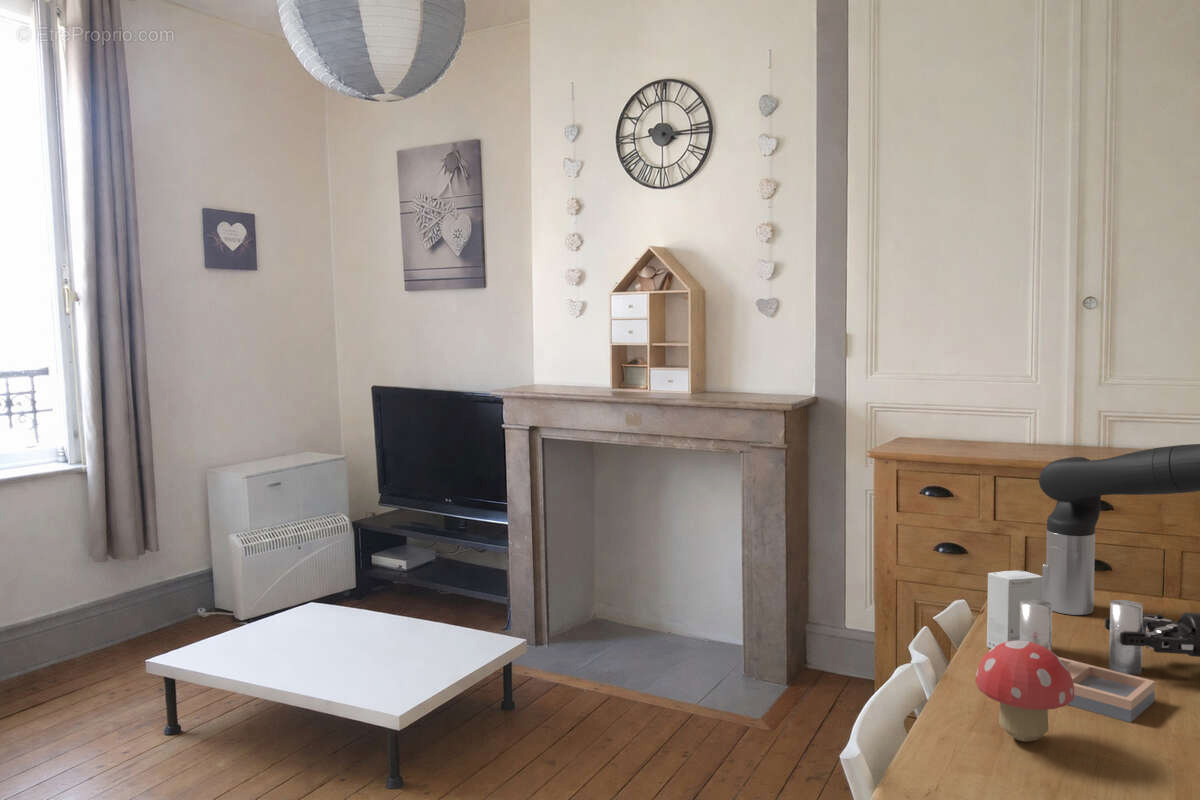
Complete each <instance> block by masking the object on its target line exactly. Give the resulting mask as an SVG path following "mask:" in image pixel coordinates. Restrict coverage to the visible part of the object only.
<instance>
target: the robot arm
mask: <svg viewBox="0 0 1200 800" xmlns="http://www.w3.org/2000/svg"><path fill="white" fill-rule="evenodd" d="M1038 483H1039V487H1040V489H1041V490H1042V492H1043V493H1044V494H1045V495H1046V496H1047V497H1048V498H1050V499H1052V500H1055V501H1056V505H1055V507H1054V509H1053V511H1052V512H1051V513H1050V514H1049V515H1048V517H1047V519H1046V562H1045V563H1043V564H1042V573H1041V574H1042V575H1041V576H1042V577H1043V589H1042V601H1046V602H1048V603H1050V604H1052V612H1055V613H1060V614H1065V615H1072V616H1085V615H1087V616H1088V615H1090V614H1092V613H1093V612H1094V605H1095V559H1096V558H1095V556H1096V555H1095V554H1096V553H1095V552H1096V551H1095V550H1096V548H1095V547H1096V527H1097V526H1096V525H1097V523H1098V521H1099V519H1100V513H1101V502H1102V500H1101V498H1102V496H1110V495H1111V496H1112V495H1128V496H1130V495H1131V496H1132V495H1133V496H1136V495H1137V496H1142V495H1143V496H1144V495H1145V496H1146V495H1147V496H1148V495H1149V496H1150V495H1172V494H1173V495H1175V494H1186V493H1196V492H1200V443H1191V444H1189V443H1188V444H1178V445H1170V446H1169V445H1168V446H1162V447H1159V446H1158V447H1154V448H1153V447H1152V448H1147V449H1143V450H1137V451H1133V452H1128V453H1125V454H1121V455H1116V456H1112V457H1108V458H1102V459H1094V460H1093V459H1092V460H1091V459H1089V458H1086V457H1083V456H1071V457H1066V458H1061V459H1056V460H1054V461H1051V462H1049V463H1048V464H1046V465H1045V466H1044V468H1043V469H1042V470H1041V471H1040V474H1039V479H1038ZM1104 628H1105V629H1106V630H1107V631H1110V616H1108V617H1105V619H1104ZM1120 643H1121V644H1122V645H1130V646H1142V647H1145V648H1147V649H1149V650H1150V649H1152V650H1153V652H1155V653H1162V654H1163V653H1164V654H1180V655H1188V656H1190V657H1198V658H1199V657H1200V612H1185V613H1183V614H1182V615H1180V619H1179V620H1178V621H1172V620H1171V619H1168V618H1165V615H1162V614H1153V613H1152V614H1151V613H1143V621H1142V632H1121V633H1120Z"/></svg>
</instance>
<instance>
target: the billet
mask: <svg viewBox="0 0 1200 800" xmlns="http://www.w3.org/2000/svg"><path fill="white" fill-rule="evenodd" d="M1109 606H1110V607H1109V617H1110V630H1109V647H1108V648H1109V650H1108V651H1109V652H1108V653H1109V655H1108V656H1109V659H1108V667H1109V668H1108V669H1109V670H1113V671H1117V672H1121V673H1125V674H1128V675H1132V676H1136V675H1140V674H1141V673H1142V671H1143V670H1142V669H1143V668H1142V662H1143V656H1142V655H1143V646H1130V645H1122V644H1121V643H1120V633H1121V632H1142V621H1143V614H1144V613H1143V611H1144V609H1143V607H1144V605H1143V604H1142V603H1139V602H1138V601H1133V600H1126V599H1114V600H1111V601H1109Z"/></svg>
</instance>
